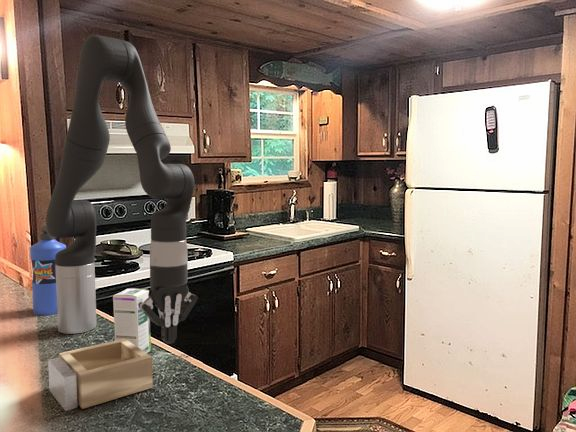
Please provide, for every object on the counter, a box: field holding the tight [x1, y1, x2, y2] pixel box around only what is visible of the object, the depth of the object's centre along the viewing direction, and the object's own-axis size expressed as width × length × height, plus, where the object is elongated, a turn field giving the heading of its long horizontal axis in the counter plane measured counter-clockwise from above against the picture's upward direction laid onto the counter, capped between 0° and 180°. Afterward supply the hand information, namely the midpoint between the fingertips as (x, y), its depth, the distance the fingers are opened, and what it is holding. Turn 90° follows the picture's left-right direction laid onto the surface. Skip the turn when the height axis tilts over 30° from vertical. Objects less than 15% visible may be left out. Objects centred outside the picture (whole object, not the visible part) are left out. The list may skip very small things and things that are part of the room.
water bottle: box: [29, 224, 67, 316], centre depth 140 cm, size 9×9×25 cm
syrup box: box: [112, 288, 152, 354], centre depth 108 cm, size 6×6×14 cm
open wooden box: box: [58, 338, 154, 410], centre depth 93 cm, size 13×13×6 cm
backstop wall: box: [47, 356, 79, 412], centre depth 88 cm, size 10×2×6 cm, turn 41°
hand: (169, 342), depth 102 cm, fingers closed
